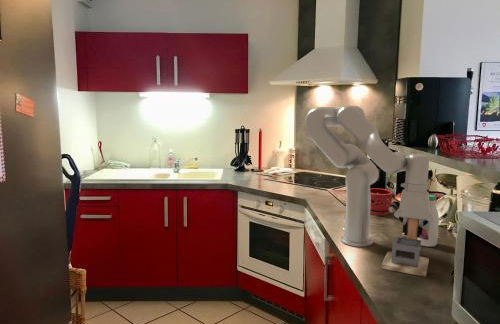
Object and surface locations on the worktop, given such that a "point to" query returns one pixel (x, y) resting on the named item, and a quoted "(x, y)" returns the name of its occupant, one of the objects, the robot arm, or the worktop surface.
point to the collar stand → (406, 257)
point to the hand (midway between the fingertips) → (412, 235)
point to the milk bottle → (430, 226)
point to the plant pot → (380, 201)
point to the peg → (412, 228)
